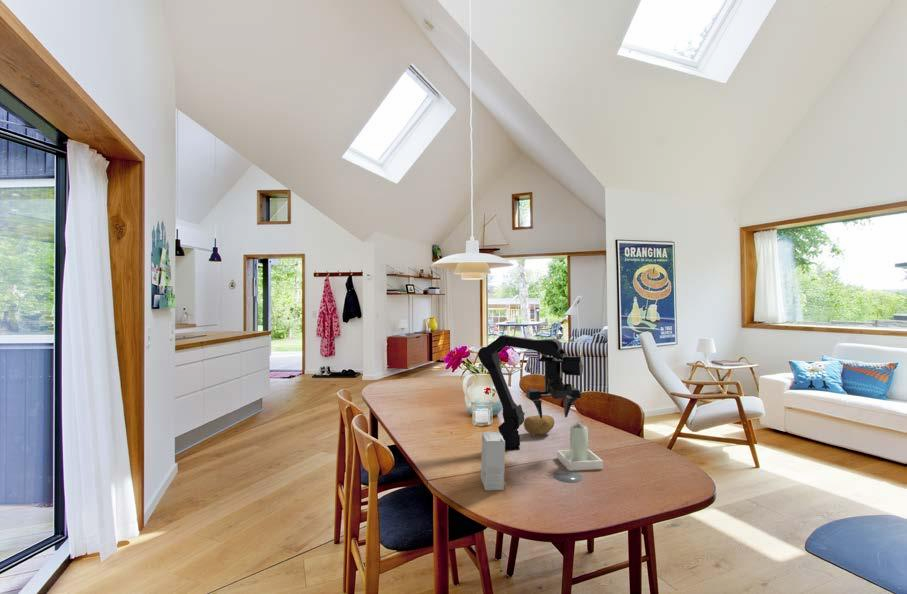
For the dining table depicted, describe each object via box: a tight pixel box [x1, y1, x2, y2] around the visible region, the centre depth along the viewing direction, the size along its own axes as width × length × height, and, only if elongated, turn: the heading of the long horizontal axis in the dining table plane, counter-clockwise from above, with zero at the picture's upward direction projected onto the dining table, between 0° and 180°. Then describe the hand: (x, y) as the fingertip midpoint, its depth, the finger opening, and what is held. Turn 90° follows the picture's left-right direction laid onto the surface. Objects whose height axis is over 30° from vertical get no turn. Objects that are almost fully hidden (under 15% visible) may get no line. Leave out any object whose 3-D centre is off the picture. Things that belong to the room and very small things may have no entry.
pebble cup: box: [569, 422, 589, 462], centre depth 149 cm, size 6×6×14 cm
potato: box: [523, 414, 555, 437], centre depth 183 cm, size 10×14×8 cm
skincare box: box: [480, 431, 506, 491], centre depth 133 cm, size 8×6×15 cm
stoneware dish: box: [556, 449, 604, 472], centre depth 149 cm, size 11×11×3 cm
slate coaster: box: [552, 470, 584, 484], centre depth 138 cm, size 9×9×1 cm
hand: (553, 417), depth 160 cm, fingers open, 9 cm apart
